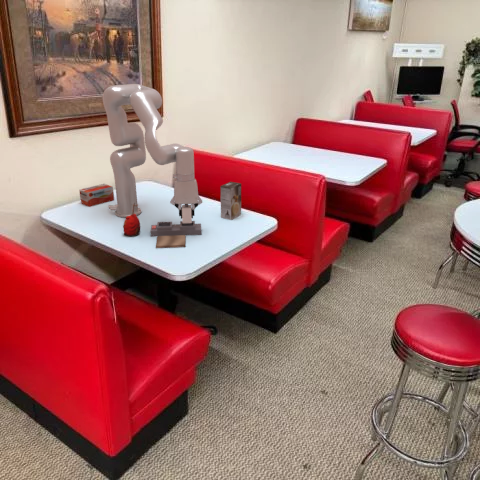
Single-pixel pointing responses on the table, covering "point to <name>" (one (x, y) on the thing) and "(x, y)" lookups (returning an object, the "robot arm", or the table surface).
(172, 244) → the walnut mat
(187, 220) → the plug
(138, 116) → the robot arm
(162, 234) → the power strip
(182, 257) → the table surface
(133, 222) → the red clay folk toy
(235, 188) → the coffee box
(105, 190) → the medicine box
